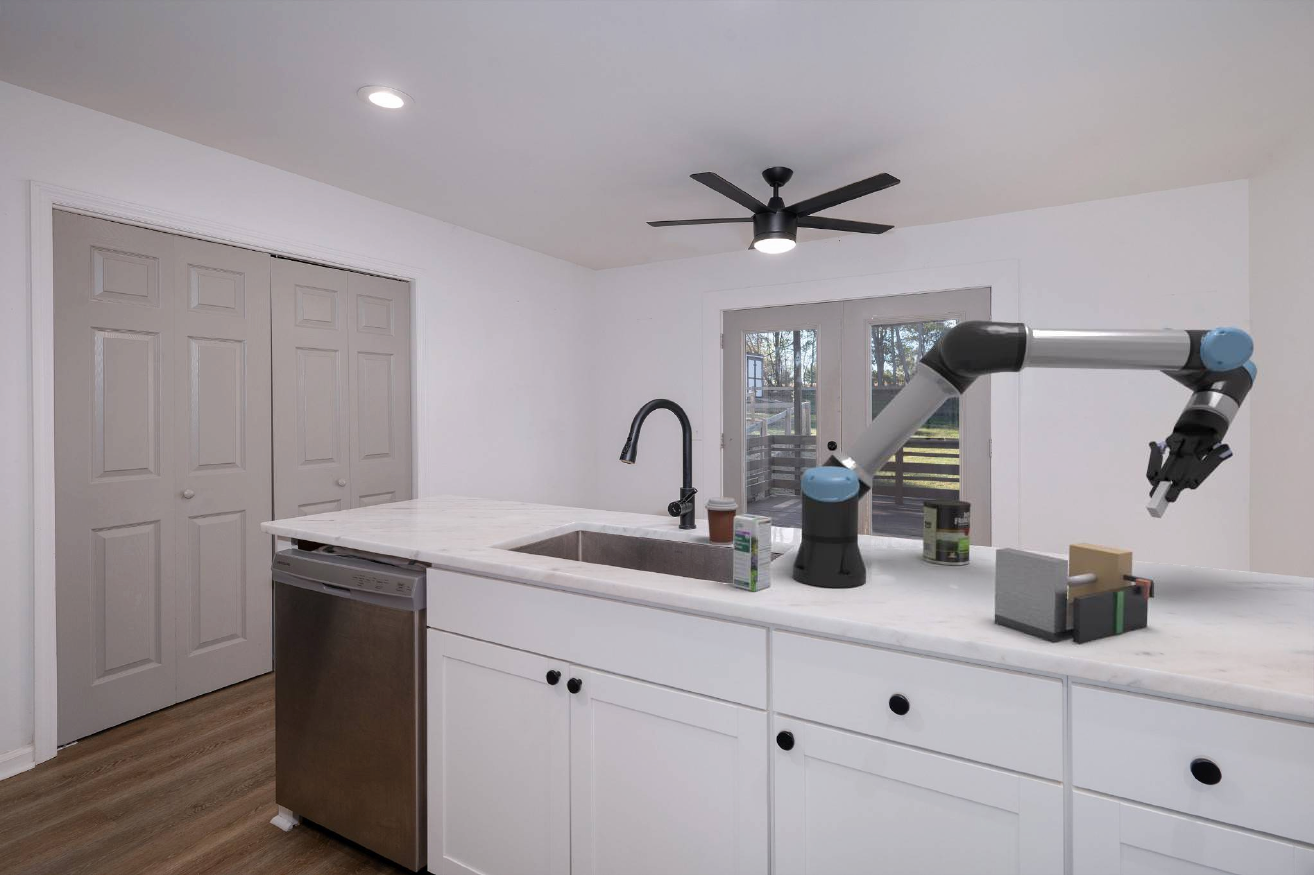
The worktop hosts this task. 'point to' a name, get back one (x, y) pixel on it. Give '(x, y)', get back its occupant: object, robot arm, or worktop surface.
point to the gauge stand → (1060, 601)
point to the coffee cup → (721, 520)
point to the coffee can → (946, 532)
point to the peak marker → (1146, 586)
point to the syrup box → (752, 552)
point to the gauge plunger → (1099, 570)
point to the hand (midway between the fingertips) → (1153, 512)
